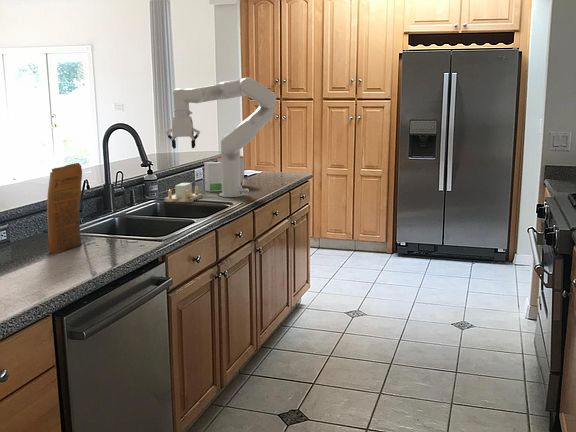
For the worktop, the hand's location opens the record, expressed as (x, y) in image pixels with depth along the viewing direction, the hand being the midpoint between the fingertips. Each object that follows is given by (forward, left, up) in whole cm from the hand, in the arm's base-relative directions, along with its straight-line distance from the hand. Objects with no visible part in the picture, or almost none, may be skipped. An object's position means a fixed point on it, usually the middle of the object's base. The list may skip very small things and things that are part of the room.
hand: (183, 148), depth 313 cm
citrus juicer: (-14, -42, -25) cm, 51 cm away
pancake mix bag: (+3, +114, -25) cm, 116 cm away
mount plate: (-2, +8, -25) cm, 26 cm away
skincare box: (-9, -22, -25) cm, 35 cm away
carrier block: (-2, +8, -23) cm, 25 cm away
